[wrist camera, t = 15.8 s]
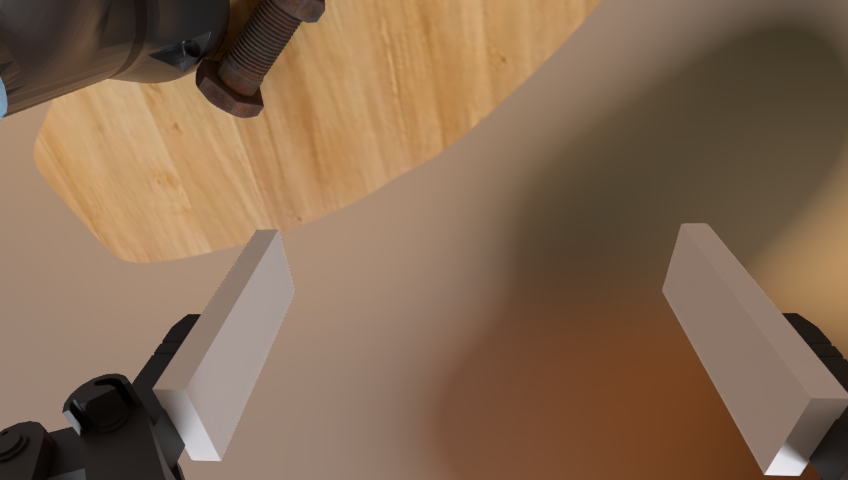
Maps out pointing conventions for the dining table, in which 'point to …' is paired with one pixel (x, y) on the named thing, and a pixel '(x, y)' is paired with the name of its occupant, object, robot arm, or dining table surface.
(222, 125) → the dining table surface
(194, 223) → the dining table surface
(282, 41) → the bolt
